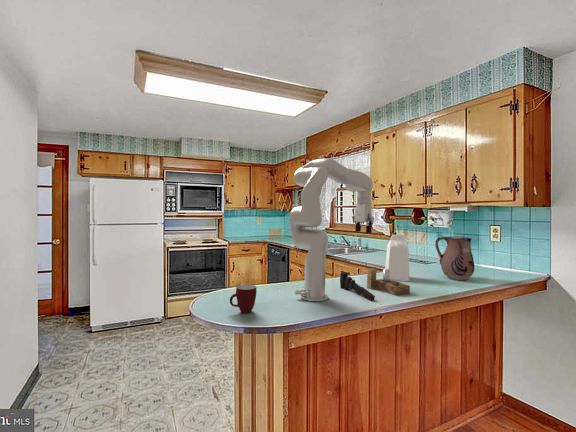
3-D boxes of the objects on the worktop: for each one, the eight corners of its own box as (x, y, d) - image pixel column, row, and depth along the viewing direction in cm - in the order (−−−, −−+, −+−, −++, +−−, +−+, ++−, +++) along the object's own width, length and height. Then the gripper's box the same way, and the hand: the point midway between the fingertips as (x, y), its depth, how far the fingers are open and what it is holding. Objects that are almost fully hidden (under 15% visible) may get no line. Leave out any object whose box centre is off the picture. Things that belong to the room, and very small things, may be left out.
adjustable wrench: (368, 311, 145) (338, 286, 167) (373, 310, 146) (343, 286, 168) (371, 294, 143) (340, 271, 165) (376, 293, 144) (345, 271, 166)
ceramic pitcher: (477, 283, 181) (479, 239, 180) (436, 280, 187) (438, 237, 186) (470, 276, 197) (471, 236, 196) (432, 274, 204) (434, 235, 203)
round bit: (385, 289, 164) (386, 270, 164) (381, 288, 167) (381, 269, 167) (390, 288, 165) (391, 269, 165) (386, 287, 168) (386, 268, 168)
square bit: (370, 289, 164) (371, 270, 164) (367, 287, 167) (367, 268, 167) (375, 288, 165) (376, 269, 165) (372, 287, 168) (372, 268, 168)
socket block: (409, 293, 157) (409, 285, 157) (395, 295, 153) (395, 287, 153) (387, 285, 172) (388, 278, 172) (374, 287, 168) (374, 279, 168)
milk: (404, 276, 195) (406, 234, 194) (409, 281, 184) (410, 236, 183) (384, 275, 197) (385, 233, 196) (387, 279, 186) (389, 235, 185)
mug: (233, 317, 121) (233, 291, 120) (227, 311, 128) (227, 286, 127) (259, 313, 125) (259, 288, 125) (251, 307, 133) (252, 283, 132)
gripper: (349, 201, 182) (348, 231, 183) (368, 201, 166) (367, 233, 167) (360, 201, 185) (359, 230, 186) (379, 201, 169) (378, 233, 170)
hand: (363, 232), depth 176 cm, fingers open, 9 cm apart
